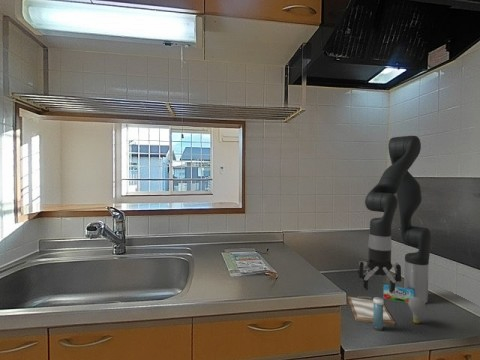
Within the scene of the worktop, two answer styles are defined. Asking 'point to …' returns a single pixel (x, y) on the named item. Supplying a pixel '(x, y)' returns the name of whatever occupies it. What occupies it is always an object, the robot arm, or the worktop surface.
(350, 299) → the clipboard
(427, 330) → the worktop surface
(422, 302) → the light bulb
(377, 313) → the bottle
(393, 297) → the yogurt
